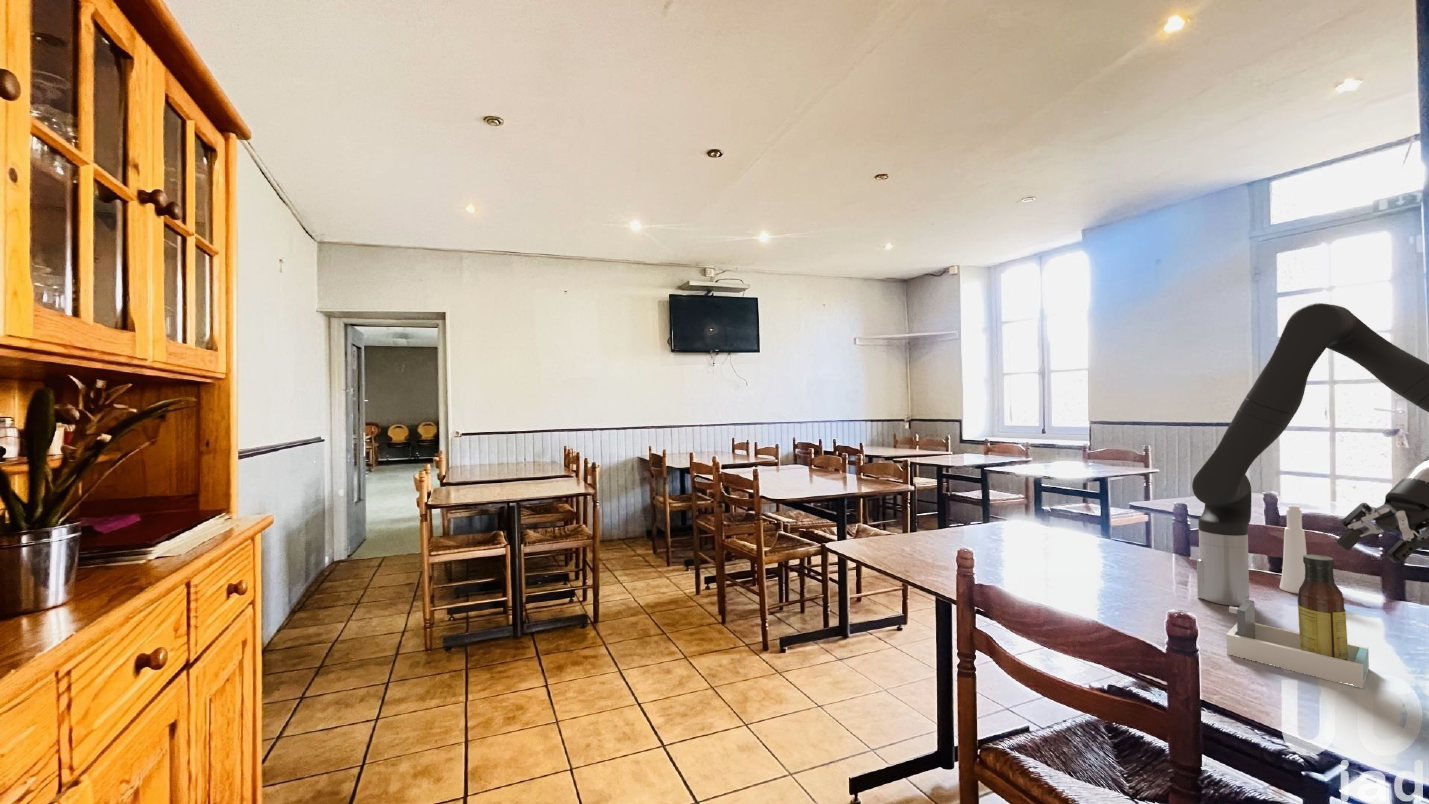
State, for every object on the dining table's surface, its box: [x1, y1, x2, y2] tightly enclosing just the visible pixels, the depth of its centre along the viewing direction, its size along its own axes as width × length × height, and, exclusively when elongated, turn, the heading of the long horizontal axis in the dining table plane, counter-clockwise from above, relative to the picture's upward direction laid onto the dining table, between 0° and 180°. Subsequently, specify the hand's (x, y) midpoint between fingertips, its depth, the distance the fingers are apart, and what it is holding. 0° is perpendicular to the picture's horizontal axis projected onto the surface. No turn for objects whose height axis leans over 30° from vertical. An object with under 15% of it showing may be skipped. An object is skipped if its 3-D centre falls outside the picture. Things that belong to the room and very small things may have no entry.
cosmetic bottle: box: [1279, 504, 1308, 594], centre depth 149 cm, size 6×6×22 cm
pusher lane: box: [1225, 622, 1370, 690], centre depth 111 cm, size 18×12×4 cm, turn 38°
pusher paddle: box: [1228, 599, 1256, 639], centre depth 117 cm, size 3×9×8 cm, turn 128°
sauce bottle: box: [1297, 554, 1349, 661], centre depth 108 cm, size 6×6×20 cm
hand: (1365, 553), depth 107 cm, fingers open, 8 cm apart
